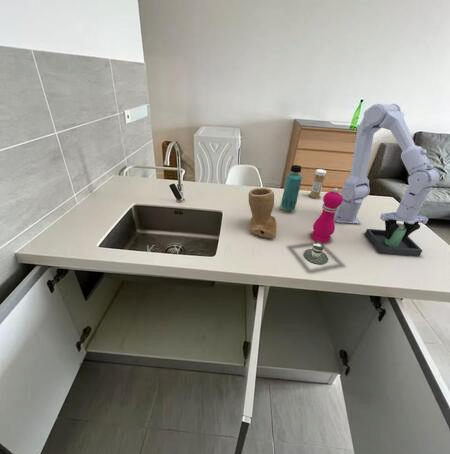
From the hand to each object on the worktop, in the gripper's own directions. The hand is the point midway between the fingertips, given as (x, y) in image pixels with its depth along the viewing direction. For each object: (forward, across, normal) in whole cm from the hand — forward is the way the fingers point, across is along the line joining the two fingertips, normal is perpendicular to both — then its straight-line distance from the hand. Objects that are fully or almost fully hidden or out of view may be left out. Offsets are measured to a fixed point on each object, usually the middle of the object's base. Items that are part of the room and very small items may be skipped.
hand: (393, 238), depth 87 cm
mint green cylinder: (+2, 0, 0) cm, 2 cm away
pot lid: (+3, -30, -10) cm, 32 cm away
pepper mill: (+3, -25, +1) cm, 25 cm away
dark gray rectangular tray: (+3, 0, 0) cm, 3 cm away
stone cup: (+3, -47, +5) cm, 47 cm away
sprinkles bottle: (+3, -18, +37) cm, 41 cm away
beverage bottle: (+3, -34, +21) cm, 40 cm away
